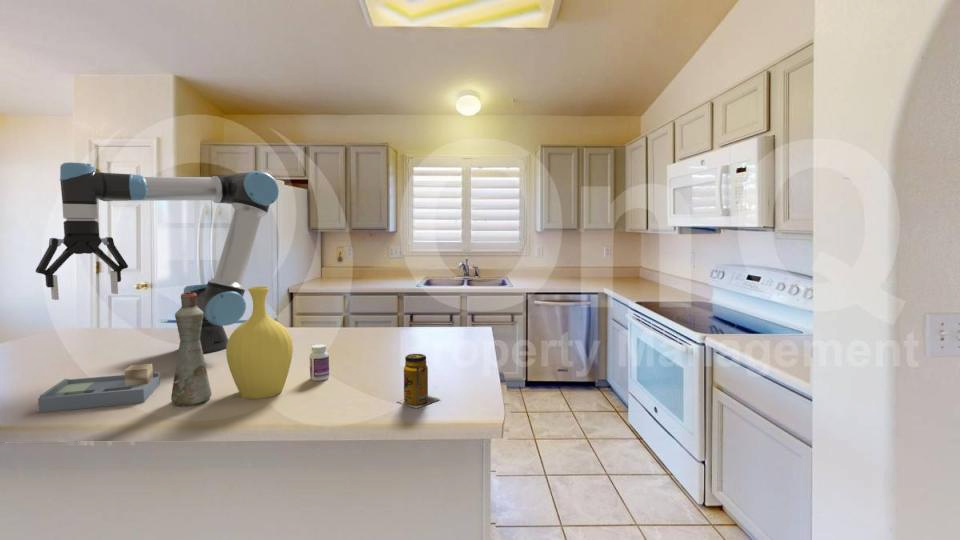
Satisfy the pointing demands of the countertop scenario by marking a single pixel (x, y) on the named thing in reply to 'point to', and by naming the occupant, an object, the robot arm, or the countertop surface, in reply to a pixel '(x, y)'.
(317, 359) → the pill bottle
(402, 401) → the condiment
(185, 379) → the bottle
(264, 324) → the vase
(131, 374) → the block
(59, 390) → the blue gray tray
